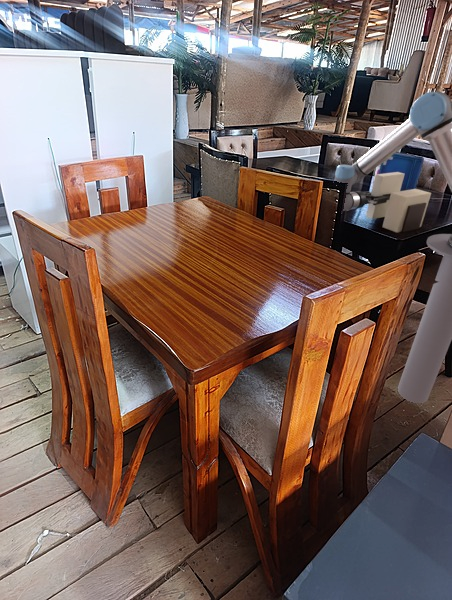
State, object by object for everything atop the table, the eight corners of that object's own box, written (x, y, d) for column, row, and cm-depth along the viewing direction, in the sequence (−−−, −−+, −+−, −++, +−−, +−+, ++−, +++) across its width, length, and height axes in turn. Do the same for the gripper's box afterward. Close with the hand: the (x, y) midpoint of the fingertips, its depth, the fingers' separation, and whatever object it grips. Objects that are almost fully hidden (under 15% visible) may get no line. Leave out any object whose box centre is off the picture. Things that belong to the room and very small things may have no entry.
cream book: (393, 215, 197) (404, 173, 187) (372, 219, 189) (382, 176, 180) (386, 212, 200) (397, 171, 190) (365, 216, 192) (375, 174, 182)
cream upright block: (422, 227, 187) (433, 193, 179) (398, 233, 178) (408, 197, 170) (406, 221, 193) (415, 188, 185) (382, 227, 185) (391, 192, 177)
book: (413, 201, 227) (426, 155, 215) (411, 203, 222) (423, 156, 209) (375, 194, 237) (384, 150, 224) (372, 197, 231) (381, 151, 219)
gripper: (338, 203, 187) (371, 198, 199) (367, 214, 175) (400, 207, 187) (341, 187, 184) (375, 183, 195) (371, 197, 171) (404, 191, 183)
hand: (387, 195), depth 191 cm, fingers closed on cream book, 4 cm apart
